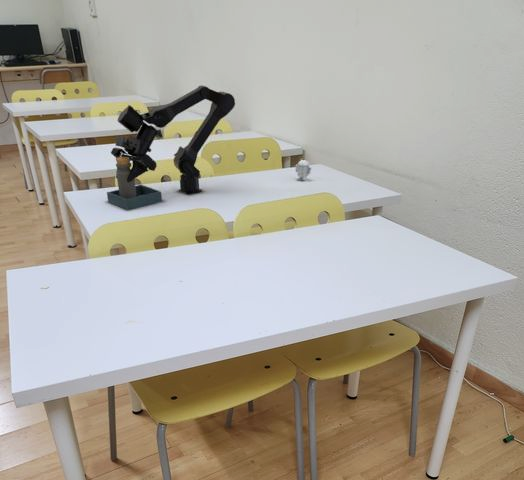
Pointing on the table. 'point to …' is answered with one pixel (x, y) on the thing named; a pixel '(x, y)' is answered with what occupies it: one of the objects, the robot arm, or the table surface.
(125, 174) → the bottle
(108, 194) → the basin
